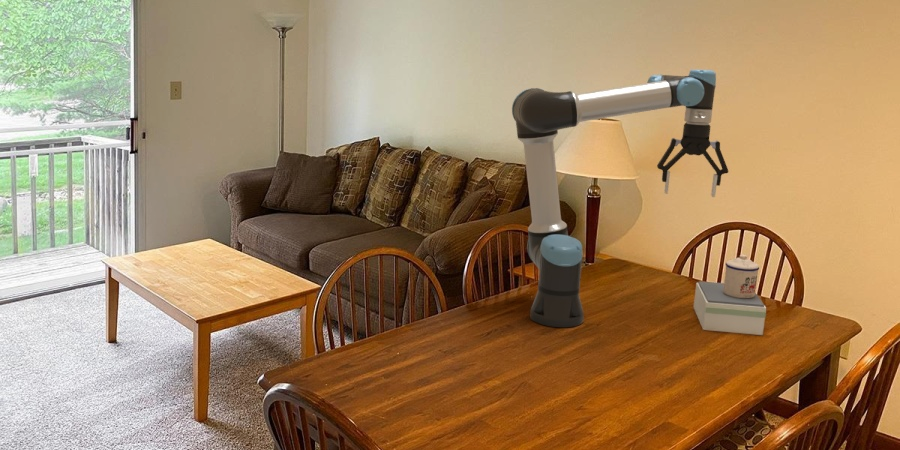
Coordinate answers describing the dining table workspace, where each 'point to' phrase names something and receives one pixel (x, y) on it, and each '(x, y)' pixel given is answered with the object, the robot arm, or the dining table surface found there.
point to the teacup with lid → (740, 277)
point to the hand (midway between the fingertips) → (689, 194)
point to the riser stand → (728, 310)
